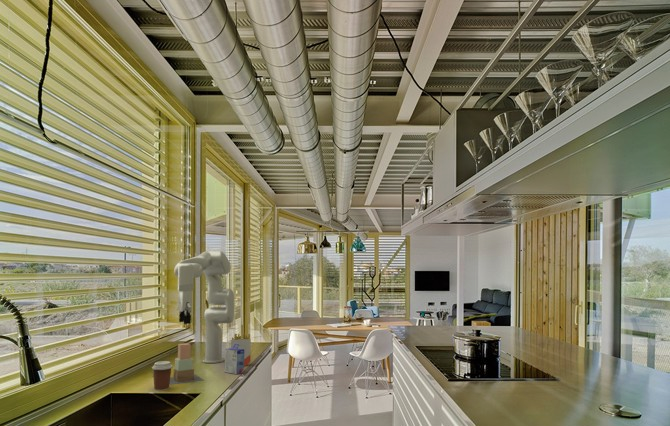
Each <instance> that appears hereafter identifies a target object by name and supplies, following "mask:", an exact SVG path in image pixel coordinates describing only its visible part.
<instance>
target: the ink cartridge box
mask: <svg viewBox="0 0 670 426" xmlns="http://www.w3.org/2000/svg"><path fill="white" fill-rule="evenodd" d="M236 345H237V346H238V347H239V344H234V346H233V348H231V347H230V348H225V353H224V373H228V374H234V375H239V374H244V373H245V366H244V349H238V347H235V346H236Z"/></svg>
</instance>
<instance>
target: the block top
mask: <svg viewBox="0 0 670 426" xmlns="http://www.w3.org/2000/svg"><path fill="white" fill-rule="evenodd" d="M174 368H175V369H176V370H178V371H183V370H191V369H194V358H192V357H191V359H184V360H180V359H178V357H175V358H174Z"/></svg>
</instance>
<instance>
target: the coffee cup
mask: <svg viewBox="0 0 670 426" xmlns="http://www.w3.org/2000/svg"><path fill="white" fill-rule="evenodd" d="M173 367H174V365H173V364H172V363H171V361H167V360H164V361H163V360H162V361H157V362H155V363H154V365H153V366H151V370H152V373H153V389H154V390H155V391H166V390H169V389H170V386H171V385H170V378H171V374H172V369H174V368H173Z"/></svg>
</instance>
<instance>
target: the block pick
mask: <svg viewBox="0 0 670 426" xmlns="http://www.w3.org/2000/svg"><path fill="white" fill-rule="evenodd" d="M191 346H192V345H191V343H189V342H184V343H178V344H177V358H178V359H180V360H184V359H191V358H192V357H191V355H192V354H191V353H192V352H191V350H192V348H191Z"/></svg>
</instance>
